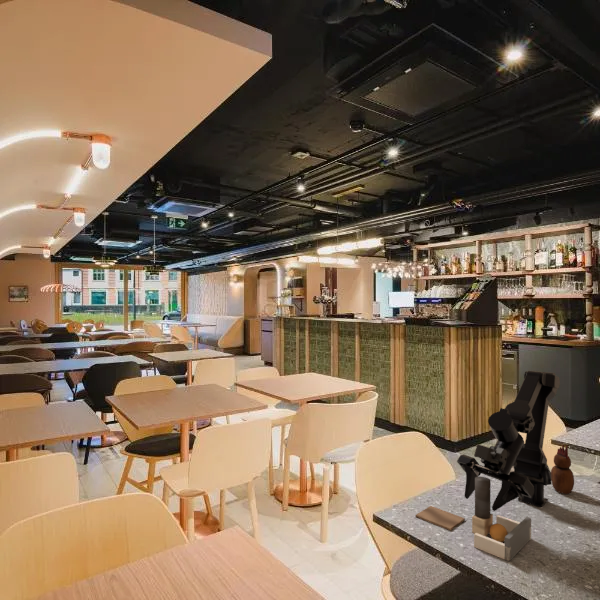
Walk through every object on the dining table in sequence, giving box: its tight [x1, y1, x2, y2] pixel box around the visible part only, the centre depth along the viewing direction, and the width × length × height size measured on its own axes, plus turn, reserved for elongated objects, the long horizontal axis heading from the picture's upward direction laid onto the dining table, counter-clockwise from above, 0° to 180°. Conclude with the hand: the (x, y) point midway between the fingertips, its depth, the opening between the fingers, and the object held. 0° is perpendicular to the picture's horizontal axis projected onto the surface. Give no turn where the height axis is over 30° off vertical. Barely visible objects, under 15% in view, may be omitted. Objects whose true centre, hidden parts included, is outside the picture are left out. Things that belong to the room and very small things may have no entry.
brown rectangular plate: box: [415, 505, 466, 531], centre depth 117 cm, size 8×10×1 cm
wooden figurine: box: [550, 444, 575, 495], centre depth 136 cm, size 7×6×15 cm
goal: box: [473, 514, 532, 562], centre depth 106 cm, size 14×8×5 cm, turn 134°
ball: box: [489, 523, 509, 543], centre depth 106 cm, size 4×4×4 cm
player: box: [471, 476, 494, 537], centre depth 109 cm, size 5×4×13 cm
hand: (479, 503), depth 109 cm, fingers open, 7 cm apart
